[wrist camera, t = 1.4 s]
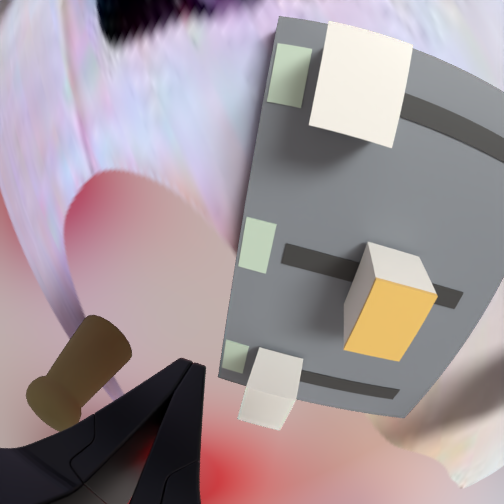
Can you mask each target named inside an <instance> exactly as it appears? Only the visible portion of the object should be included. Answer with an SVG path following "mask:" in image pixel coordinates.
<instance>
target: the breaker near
mask: <svg viewBox="0 0 504 504" xmlns="http://www.w3.org/2000/svg"><path fill="white" fill-rule="evenodd" d="M412 49H413V45H412V44H409V43H406V42H404V41H401V40H398V39H395V38H392V37H389V36H386V35H382V34H379V33H376V32H372V31H369V30H365V29H361V28H358V27H354V26H350V25H346V24H341V23H337V22H332V21H329V22H328V28H327V33H326V39H325V44H324V50H323V55H322V60H321V66H320V71H319V76H318V81H317V86H316V91H315V96H314V101H313V106H312V111H311V116H310V121H309V125H310V126H315V127H319V128H323V129H327V130H331V131H335V132H338V133H342V134H346V135H349V136H353V137H356V138H360V139H363V140H367V141H370V142H373V143H376V144H380V145H383V146H386V147H389V148H392V146H393V142H394V138H395V134H396V130H397V125H398V121H399V117H400V112H401V108H402V103H403V99H404V94H405V89H406V84H407V78H408V73H409V67H410V61H411V55H412Z"/></svg>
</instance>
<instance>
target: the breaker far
mask: <svg viewBox="0 0 504 504" xmlns="http://www.w3.org/2000/svg"><path fill="white" fill-rule="evenodd" d="M302 364H303V359H302V358H298V357H294V356H290V355H286V354H283V353H279V352H275V351H271V350H268V349H264V348H261V347H259V350H258V353H257V356H256V359H255V362H254V365H253V368H252V371H251V374H250V377H249V380H248V383H247V385H246V389H245V392H244V396H243V400H242V403H241V407H240V411H239V414H238V418H237V419H239V420H242V421H245V422H249V423H252V424H256V425H260V426H263V427H267V428H271V429H275V430H281V428H282V426H283V424H284V422H285V420H286V418H287V417H288V415H289V413H290V411H291V409H292V407H293V405H294V403H295V401H296V398H297V392H298V387H299V381H300V376H301V370H302Z"/></svg>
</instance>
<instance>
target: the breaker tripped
mask: <svg viewBox="0 0 504 504" xmlns="http://www.w3.org/2000/svg"><path fill="white" fill-rule="evenodd" d="M437 297H438V296H437V294H436V291H435V289H434V287H433V285H432V283H431V280H430V278H429V276H428V274H427V272H426V270H425V268H424V266H423V264H422V262H421V260H420V258H419V257H418V256H415V255H412V254H409V253H405V252H402V251H399V250H395V249H392V248H388V247H385V246H382V245H378V244H375V243H371V242H367V245H366V248H365V251H364V253H363V256H362V259H361V261H360V264H359V267H358V269H357V272H356V275H355V277H354V280H353V282H352V285H351V287H350V290H349V292H348V295H347V297H346V300H345V302H344V349H343V350H346V351H351V352H355V353H360V354H364V355H369V356H374V357H378V358H383V359H388V360H393V361H398V362H399V361H400V359H401V358H402V356H403V355H404V353H405V352H406V350H407V349H408V347H409V345H410V344H411V342H412V341H413V339H414V337H415V336H416V334H417V332H418V331H419V329H420V327H421V326H422V324H423V322H424V321H425V319H426V317H427V315H428V314H429V312H430V310H431V308H432V306H433V304H434V303H435V301H436V299H437Z"/></svg>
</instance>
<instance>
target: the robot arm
mask: <svg viewBox="0 0 504 504" xmlns="http://www.w3.org/2000/svg"><path fill="white" fill-rule="evenodd" d="M205 374H206V367H205V366H204V365H201V364H198V363H193V362H192V361H190V360H187V359H184V358H179V359H178V360H176V361H175V362H173V363H172V364H171V365H169V366H167V367H166V368H164V369H163V370H161V371H160V372H158V373H157V374H155V375H154V376H152V377H151V378H149V379H148V380H146V381H144V382H143V383H141V384H140V385H138V386H137V387H135V388H134V389H132V390H131V391H129V392H127V393H126V394H124V395H123V396H121V397H120V398H118V399H116V400H115V401H113V402H112V403H110V404H109V405H107V406H105V407H104V408H102V409H100V410H99V411H97V412H96V413H95V415H94V414H92V415H90V416H89V417H87V418H86V419H84V420H82V421H80V422H79V423H77V424H75V425H73V426H71V427H69V428H67V429H65V430H63V431H61V432H58V433H56V434H54V435H51V436H49V437H47V438H44V439H42V440H39V441H37V442H34V443H32V444H29V445H26V446H23V447H18V448H0V504H127V503H128V502H129V500H130V498H131V497H132V498H131V500H130V503H129V504H201V499H200V484H199V483H200V481H199V480H200V479H199V475H200V450H201V432H202V415H203V401H204V387H205Z"/></svg>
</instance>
